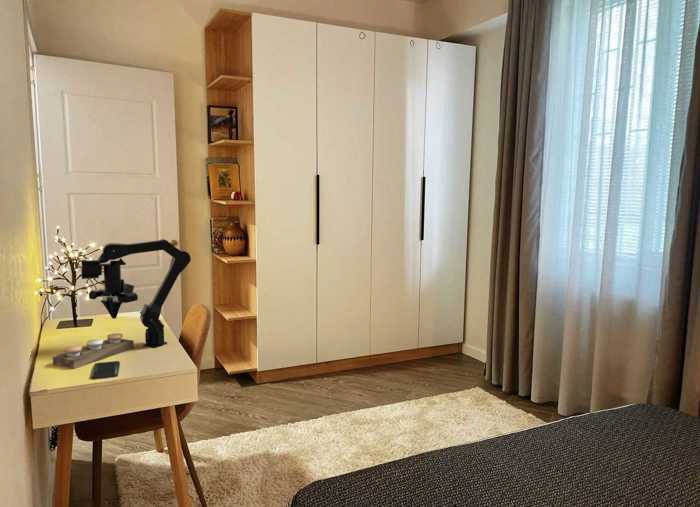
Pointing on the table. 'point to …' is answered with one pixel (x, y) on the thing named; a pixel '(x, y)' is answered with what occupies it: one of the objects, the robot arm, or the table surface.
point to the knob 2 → (114, 338)
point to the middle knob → (95, 344)
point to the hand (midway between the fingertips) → (114, 318)
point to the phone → (105, 370)
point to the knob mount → (93, 354)
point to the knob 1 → (73, 351)
